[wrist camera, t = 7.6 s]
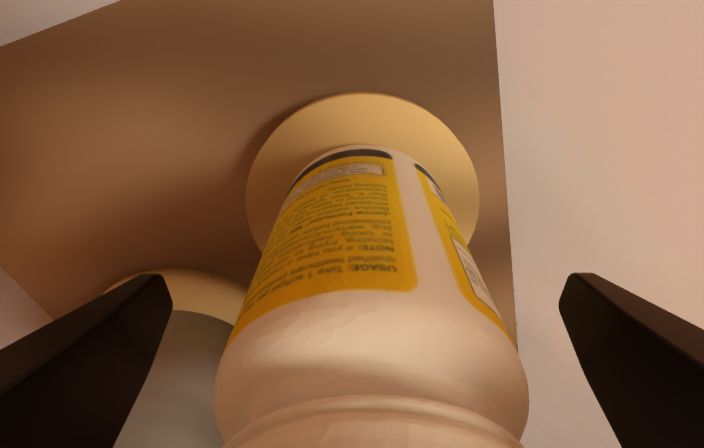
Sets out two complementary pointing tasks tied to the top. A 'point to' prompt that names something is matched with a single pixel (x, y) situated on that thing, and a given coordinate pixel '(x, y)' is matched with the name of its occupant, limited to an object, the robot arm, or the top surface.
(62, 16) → the top surface
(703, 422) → the robot arm
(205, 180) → the board
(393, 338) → the supplement bottle
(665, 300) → the top surface
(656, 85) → the top surface
